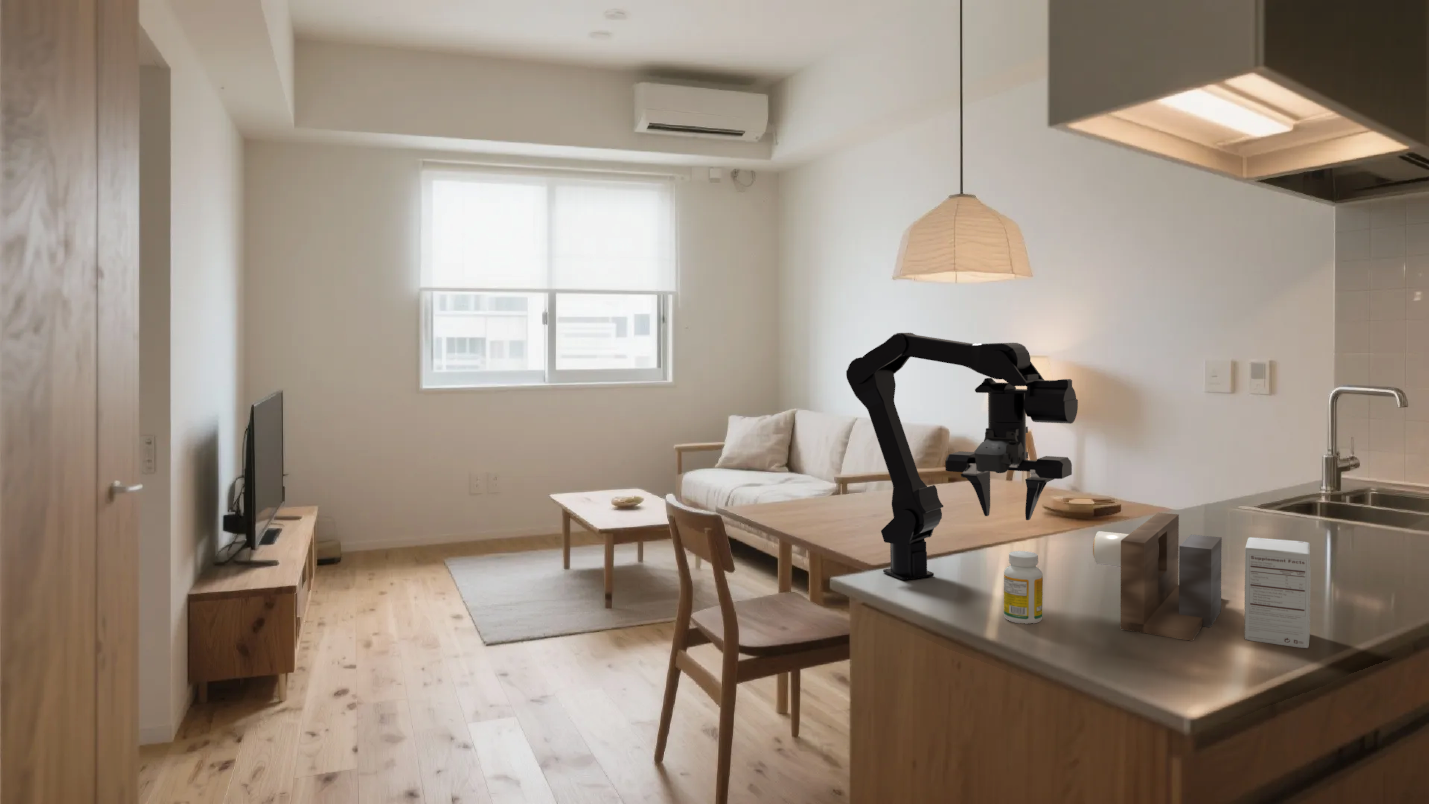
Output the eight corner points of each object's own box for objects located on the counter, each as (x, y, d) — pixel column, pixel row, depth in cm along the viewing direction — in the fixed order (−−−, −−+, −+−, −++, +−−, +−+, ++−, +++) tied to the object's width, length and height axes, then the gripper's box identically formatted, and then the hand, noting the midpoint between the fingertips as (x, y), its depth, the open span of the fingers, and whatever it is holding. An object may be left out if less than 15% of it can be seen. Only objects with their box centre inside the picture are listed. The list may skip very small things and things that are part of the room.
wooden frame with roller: (1117, 628, 126) (1117, 540, 125) (1154, 589, 145) (1155, 512, 144) (1201, 642, 120) (1201, 549, 119) (1228, 599, 139) (1229, 518, 138)
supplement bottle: (1013, 625, 129) (1012, 559, 128) (997, 614, 134) (997, 550, 133) (1049, 623, 129) (1049, 557, 129) (1032, 612, 135) (1032, 549, 134)
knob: (1091, 566, 137) (1091, 534, 136) (1100, 560, 141) (1100, 528, 140) (1151, 574, 132) (1151, 540, 131) (1158, 566, 136) (1158, 534, 135)
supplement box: (1246, 625, 126) (1247, 535, 126) (1310, 633, 122) (1311, 541, 121) (1242, 640, 120) (1243, 546, 119) (1309, 649, 116) (1310, 552, 115)
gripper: (931, 423, 144) (931, 520, 145) (1050, 427, 133) (1050, 533, 133) (958, 418, 153) (959, 509, 154) (1072, 421, 141) (1072, 520, 142)
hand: (1007, 517), depth 146 cm, fingers open, 6 cm apart
